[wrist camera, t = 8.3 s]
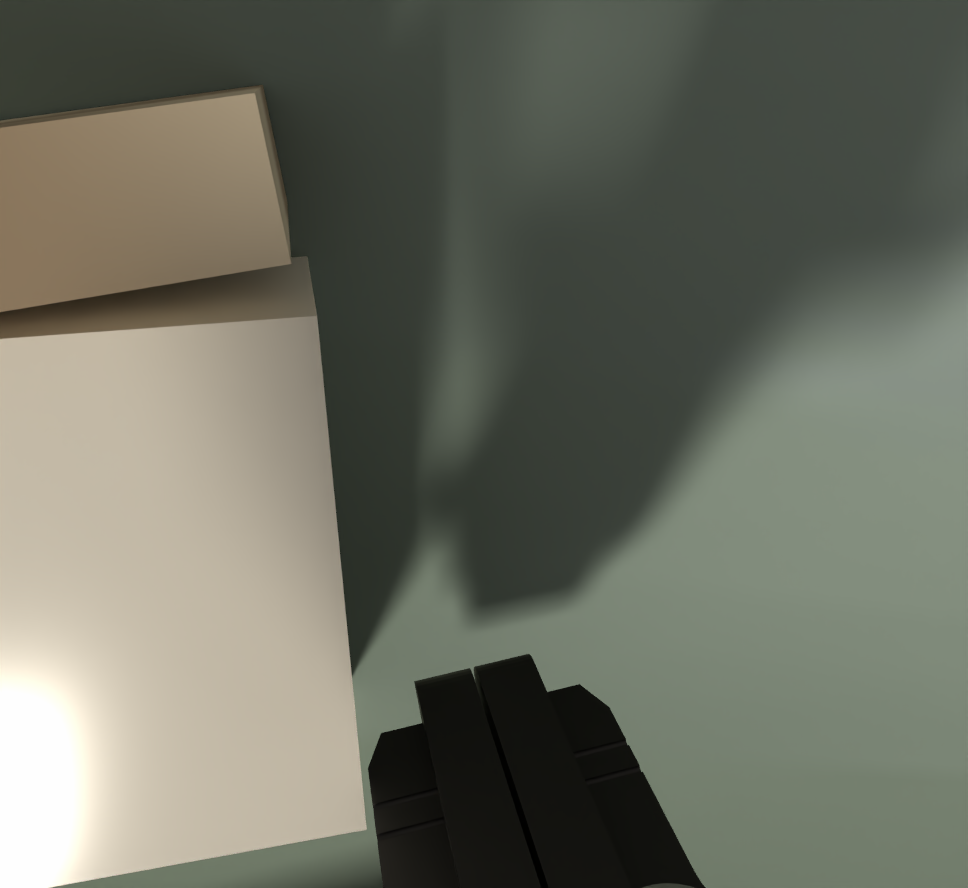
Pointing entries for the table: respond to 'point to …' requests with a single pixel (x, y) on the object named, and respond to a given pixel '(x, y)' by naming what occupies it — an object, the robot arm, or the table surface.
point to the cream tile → (169, 582)
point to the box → (139, 197)
